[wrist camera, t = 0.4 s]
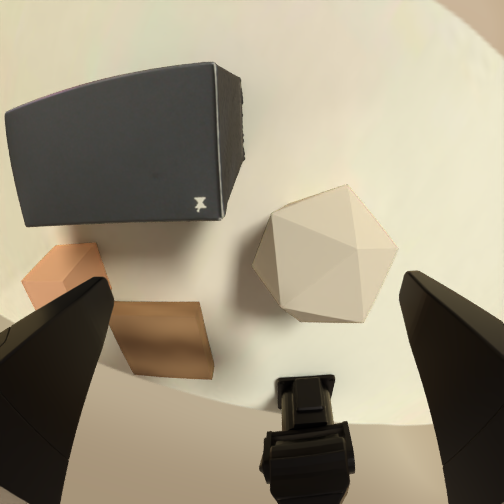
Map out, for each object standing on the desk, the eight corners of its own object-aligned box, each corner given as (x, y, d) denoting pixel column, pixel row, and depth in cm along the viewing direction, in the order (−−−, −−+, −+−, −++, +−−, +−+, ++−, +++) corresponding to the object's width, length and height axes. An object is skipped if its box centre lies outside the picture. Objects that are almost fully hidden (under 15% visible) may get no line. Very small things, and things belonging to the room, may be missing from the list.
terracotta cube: (112, 288, 27) (86, 331, 22) (72, 288, 27) (44, 326, 22) (96, 242, 25) (62, 281, 19) (55, 245, 25) (21, 281, 20)
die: (240, 257, 25) (296, 367, 21) (224, 181, 18) (309, 336, 13) (329, 219, 27) (392, 314, 22) (344, 141, 19) (443, 258, 14)
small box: (242, 70, 18) (222, 52, 8) (245, 162, 21) (230, 228, 12) (98, 90, 18) (-2, 109, 9) (108, 172, 21) (24, 234, 12)
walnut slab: (214, 365, 32) (212, 379, 30) (138, 361, 32) (134, 374, 30) (199, 301, 27) (195, 316, 25) (112, 301, 28) (104, 314, 26)
